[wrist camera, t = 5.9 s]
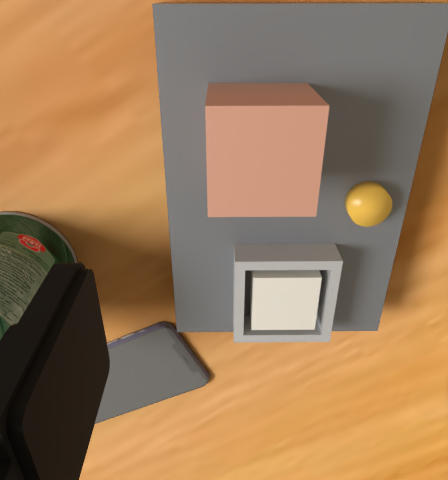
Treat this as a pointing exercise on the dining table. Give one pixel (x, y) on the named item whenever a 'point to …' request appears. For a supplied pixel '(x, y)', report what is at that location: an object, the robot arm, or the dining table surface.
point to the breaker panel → (334, 160)
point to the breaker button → (284, 299)
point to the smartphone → (148, 370)
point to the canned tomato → (26, 261)
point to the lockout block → (264, 149)
